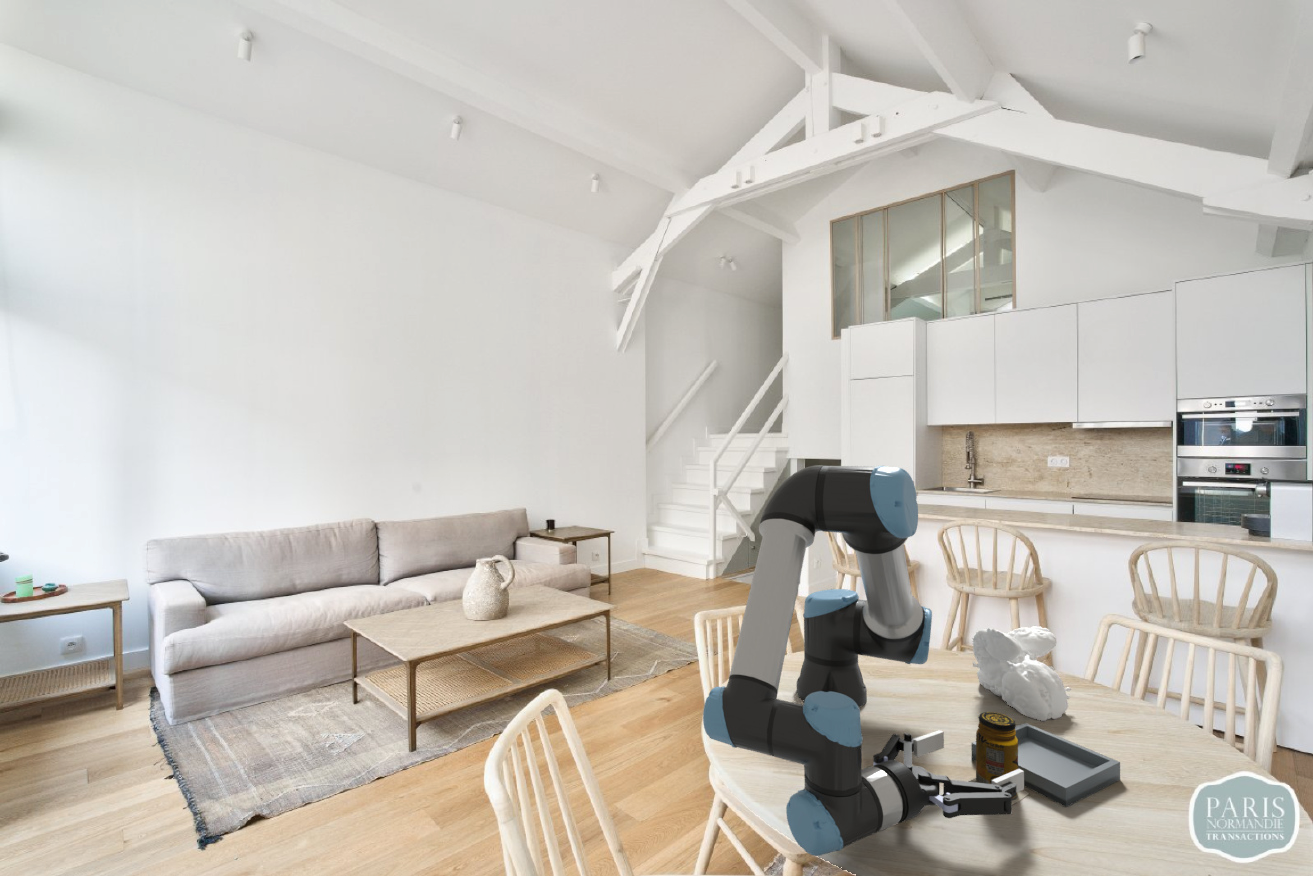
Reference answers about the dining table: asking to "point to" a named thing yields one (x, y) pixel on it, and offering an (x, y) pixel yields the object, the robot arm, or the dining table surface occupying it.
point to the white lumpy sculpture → (1021, 670)
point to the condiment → (996, 749)
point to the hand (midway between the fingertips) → (979, 757)
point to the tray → (1060, 766)
